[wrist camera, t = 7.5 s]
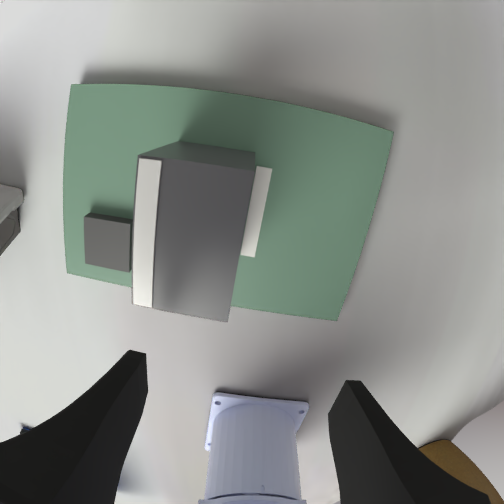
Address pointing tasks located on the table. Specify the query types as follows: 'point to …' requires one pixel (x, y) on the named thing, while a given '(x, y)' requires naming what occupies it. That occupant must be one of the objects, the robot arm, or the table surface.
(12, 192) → the electrical switch
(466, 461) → the plant pot
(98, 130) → the pcb
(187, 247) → the plug
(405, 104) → the table surface
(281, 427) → the robot arm
